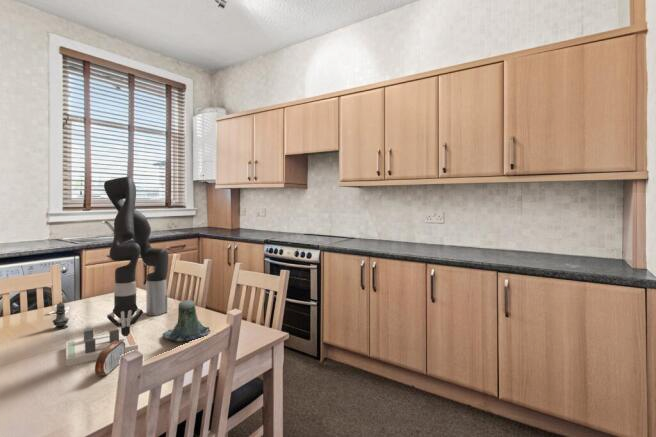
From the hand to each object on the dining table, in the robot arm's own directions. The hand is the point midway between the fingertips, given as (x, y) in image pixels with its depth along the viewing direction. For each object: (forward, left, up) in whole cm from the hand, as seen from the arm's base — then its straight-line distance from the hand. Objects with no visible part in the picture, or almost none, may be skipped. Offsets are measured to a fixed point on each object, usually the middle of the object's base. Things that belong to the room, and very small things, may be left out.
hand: (125, 335), depth 138 cm
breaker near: (+12, +6, -1) cm, 13 cm away
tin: (+6, +19, -4) cm, 21 cm away
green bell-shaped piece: (-23, +4, -4) cm, 23 cm away
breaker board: (+8, 0, -4) cm, 9 cm away
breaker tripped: (+4, 0, -1) cm, 4 cm away
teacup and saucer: (+19, -61, -4) cm, 64 cm away
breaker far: (+12, -6, -1) cm, 13 cm away
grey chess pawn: (+21, -36, -4) cm, 42 cm away
